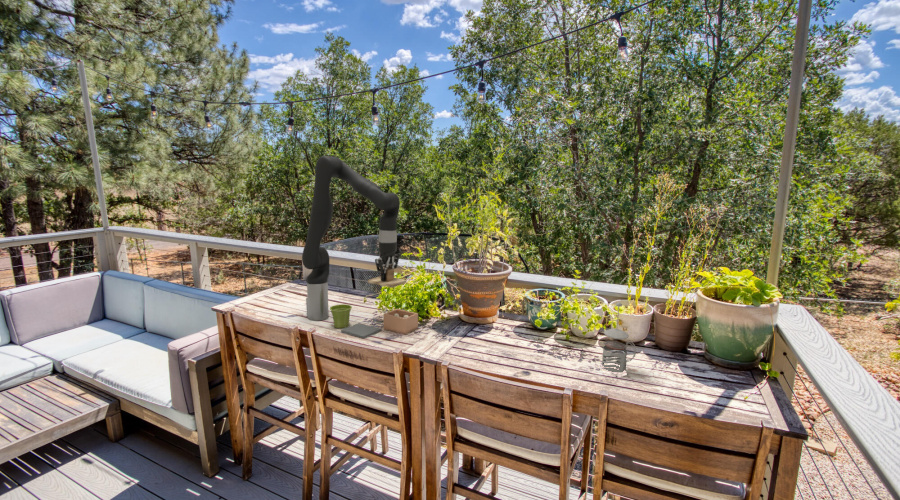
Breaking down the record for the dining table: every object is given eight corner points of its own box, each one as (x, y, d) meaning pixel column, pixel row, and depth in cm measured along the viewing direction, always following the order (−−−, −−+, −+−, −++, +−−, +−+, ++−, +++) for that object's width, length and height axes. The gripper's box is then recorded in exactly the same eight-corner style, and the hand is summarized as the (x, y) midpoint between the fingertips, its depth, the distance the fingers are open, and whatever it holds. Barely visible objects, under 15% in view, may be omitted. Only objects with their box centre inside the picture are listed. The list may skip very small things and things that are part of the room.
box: (383, 329, 183) (383, 313, 182) (396, 323, 191) (396, 308, 190) (405, 334, 177) (405, 319, 176) (417, 328, 185) (417, 313, 184)
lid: (367, 282, 179) (368, 268, 178) (383, 278, 187) (383, 264, 186) (391, 287, 172) (392, 273, 171) (406, 282, 181) (406, 268, 180)
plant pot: (339, 331, 180) (339, 312, 178) (326, 326, 185) (325, 307, 184) (356, 325, 187) (356, 307, 186) (343, 321, 193) (342, 303, 191)
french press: (604, 362, 154) (609, 296, 150) (637, 372, 147) (644, 303, 142) (594, 371, 146) (599, 302, 142) (628, 382, 139) (635, 309, 135)
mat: (341, 332, 179) (341, 330, 179) (359, 325, 188) (359, 322, 188) (363, 338, 172) (363, 336, 172) (381, 330, 181) (381, 328, 181)
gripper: (391, 237, 184) (390, 275, 187) (369, 241, 172) (369, 281, 175) (405, 239, 181) (404, 278, 184) (383, 243, 168) (383, 284, 172)
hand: (387, 279), depth 179 cm, fingers closed on lid, 4 cm apart
